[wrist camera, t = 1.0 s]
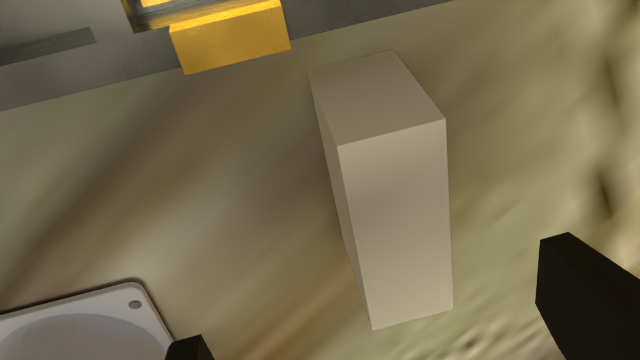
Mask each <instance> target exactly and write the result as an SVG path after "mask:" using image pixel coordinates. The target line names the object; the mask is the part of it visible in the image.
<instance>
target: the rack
mask: <svg viewBox="0 0 640 360" xmlns="http://www.w3.org/2000/svg"><path fill="white" fill-rule="evenodd" d="M448 1H452V0H0V111H4V110H8V109H12V108H16V107H20V106H24V105H28V104H32V103H36V102H40V101H44V100H48V99H53V98H57V97H61V96H65V95H69V94H73V93H77V92H81V91H85V90H89V89H93V88H97V87H101V86H105V85H110V84H114V83H118V82H122V81H126V80H130V79H134V78H138V77H142V76H146V75H150V74H154V73H158V72H163V71H167V70H171V69H175V68H179V67H182V69H183V72H184V74H185V75H189V74H193V73H197V72H201V71H205V70H209V69H213V68H217V67H221V66H225V65H229V64H233V63H238V62H242V61H246V60H250V59H254V58H258V57H262V56H266V55H270V54H274V53H278V52H282V51H286V50H290V49H291V46H290V41H289V40H293V39H297V38H301V37H305V36H309V35H313V34H317V33H321V32H325V31H330V30H334V29H338V28H342V27H346V26H350V25H354V24H358V23H362V22H366V21H370V20H374V19H378V18H383V17H387V16H391V15H395V14H399V13H403V12H407V11H411V10H415V9H419V8H423V7H427V6H431V5H435V4H440V3H444V2H448Z"/></svg>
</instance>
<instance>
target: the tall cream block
mask: <svg viewBox="0 0 640 360" xmlns="http://www.w3.org/2000/svg"><path fill="white" fill-rule="evenodd" d="M307 71H308V76H309V81H310V86H311V90H312V95H313V100H314V104H315V109H316V114H317V119H318V123H319V128H320V133H321V138H322V142H323V147H324V152H325V157H326V161H327V166H328V171H329V176H330V180H331V185H332V190H333V194H334V199H335V204H336V209H337V213H338V218H339V223H340V228H341V232H342V237H343V241H344V244H345V247H346V250H347V253H348V256H349V260H350V263H351V266H352V269H353V272H354V275H355V278H356V281H357V284H358V288H359V291H360V294H361V297H362V300H363V303H364V306H365V309H366V312H367V316H368V319H369V322H370V325H371V328H372V331H374V330H377V329H381V328H385V327H389V326H392V325H396V324H400V323H403V322H407V321H411V320H415V319H418V318H422V317H426V316H430V315H433V314H437V313H441V312H444V311H448V310H452V309H453V285H452V261H451V236H450V212H449V187H448V163H447V139H446V118H445V117H444V116H443V115H442V113H441V112H440V111H439V109H438V108H437V107H436V105H435V104H434V103H433V101H432V100H431V99H430V97H429V96H428V95H427V93H426V92H425V91H424V90H423V88H422V87H421V86H420V84H419V83H418V82H417V80H416V79H415V78H414V76H413V75H412V74H411V72H410V71H409V70H408V69H407V67H406V66H405V65H404V63H403V62H402V61H401V59H400V58H399V57H398V55H397V54H396V53H395V51H394V50H393V49H392V50H387V51H383V52H379V53H375V54H371V55H367V56H363V57H359V58H355V59H351V60H347V61H343V62H339V63H335V64H331V65H327V66H323V67H319V68H315V69H311V70H307Z"/></svg>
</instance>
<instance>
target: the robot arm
mask: <svg viewBox="0 0 640 360" xmlns="http://www.w3.org/2000/svg"><path fill="white" fill-rule="evenodd" d="M134 300H137V301H139V302H134ZM535 304H536V306H537V308H538V310H539V312H540V314H541V316H542V318H543V320H544V322H545V324H546V325H547V327H548V329H549V331H550V333H551V335H552V337H553V339H554V340H555V342H556V344H557V346H558V348H559V349H560V351H561V352H562V354H563V355H564V357H565V358H566V360H640V279H638V278H637V277H635V276H634V275H632V274H631V273H629V272H628V271H626V270H625V269H623V268H622V267H620V266H619V265H617V264H616V263H614V262H613V261H611V260H610V259H608V258H607V257H605V256H604V255H602V254H601V253H599V252H598V251H596V250H595V249H593V248H592V247H590V246H589V245H587V244H586V243H584V242H583V241H581V240H580V239H578V238H577V237H575V236H574V235H572V234H571V233H569V232H566V233H563V234H559V235H556V236H552V237H548V238H545V239H541V240H540V248H539V261H538V274H537V287H536V300H535ZM0 360H215V359H214V358H213V356H212V354H211V352H210V350H209V348H208V347H207V345H206V343H205V341H204V339H203V337H202V336H201V334H200V335H196V336H193V337H189V338H186V339H182V340H178V341H175V342H174V341H173V339H172V337H171V335H170V333H169V332H168V330H167V328H166V326H165V325H164V323H163V321H162V319H161V318H160V316H159V314H158V312H157V311H156V309H155V307H154V305H153V304H152V302H151V300H150V298H149V297H148V295H147V293H146V291H145V290H144V288H143V287H142V286H141V285H140V284H138V283H136V282H127V283H123V284H119V285H115V286H111V287H107V288H103V289H100V290H96V291H92V292H88V293H84V294H80V295H77V296H73V297H69V298H65V299H61V300H57V301H53V302H50V303H46V304H42V305H38V306H34V307H30V308H27V309H23V310H19V311H15V312H11V313H7V314H3V315H0Z"/></svg>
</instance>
